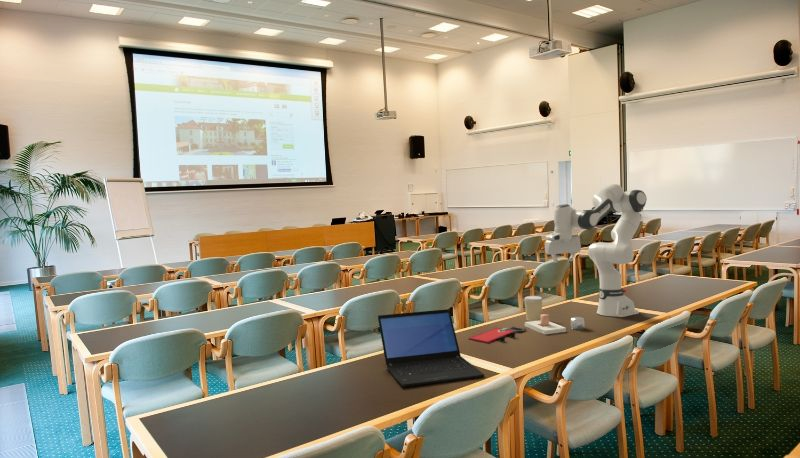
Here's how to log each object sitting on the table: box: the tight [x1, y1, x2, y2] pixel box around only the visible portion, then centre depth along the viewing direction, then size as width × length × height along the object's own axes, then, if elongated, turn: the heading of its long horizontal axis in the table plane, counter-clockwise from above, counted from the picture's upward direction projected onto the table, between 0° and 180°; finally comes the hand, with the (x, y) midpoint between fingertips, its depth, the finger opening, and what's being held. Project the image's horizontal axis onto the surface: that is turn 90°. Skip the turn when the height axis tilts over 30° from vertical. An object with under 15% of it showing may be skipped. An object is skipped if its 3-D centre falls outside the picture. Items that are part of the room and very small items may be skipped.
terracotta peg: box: [541, 313, 550, 327], centre depth 274 cm, size 4×4×7 cm
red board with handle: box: [468, 326, 527, 345], centre depth 265 cm, size 30×3×15 cm
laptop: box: [377, 308, 485, 388], centre depth 222 cm, size 33×38×19 cm
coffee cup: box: [524, 295, 543, 322], centre depth 292 cm, size 9×9×12 cm
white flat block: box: [524, 320, 567, 336], centre depth 274 cm, size 12×18×2 cm, turn 18°
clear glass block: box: [570, 316, 585, 331], centre depth 273 cm, size 6×6×5 cm
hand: (563, 261), depth 288 cm, fingers open, 8 cm apart
